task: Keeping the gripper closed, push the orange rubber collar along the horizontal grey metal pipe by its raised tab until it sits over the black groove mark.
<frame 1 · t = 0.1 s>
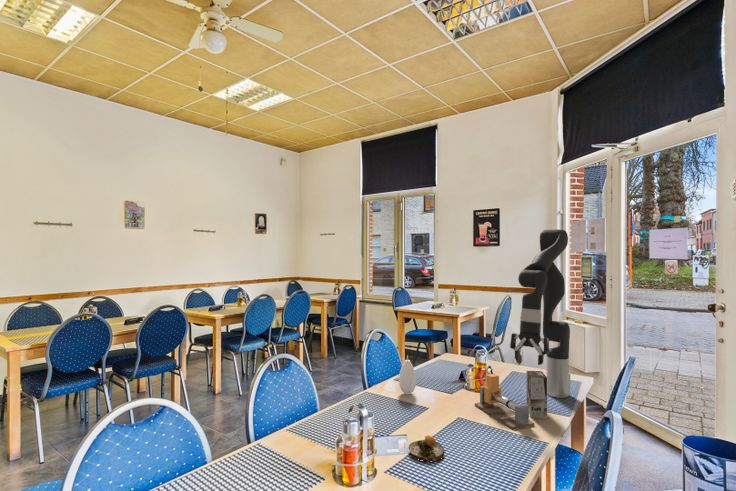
hand: (528, 362, 159), 22 cm above the table, tool pointing down, fingers open, 8 cm apart
coffee box: (536, 414, 166), on the table
pipe: (502, 403, 164), on the base board, point 4 cm above the table
base board: (502, 415, 164), on the table
white teardrop vase: (407, 394, 187), on the table
bowl of food: (426, 454, 134), on the table
collar: (492, 388, 170), point 8 cm above the table, slide at 0.0 cm
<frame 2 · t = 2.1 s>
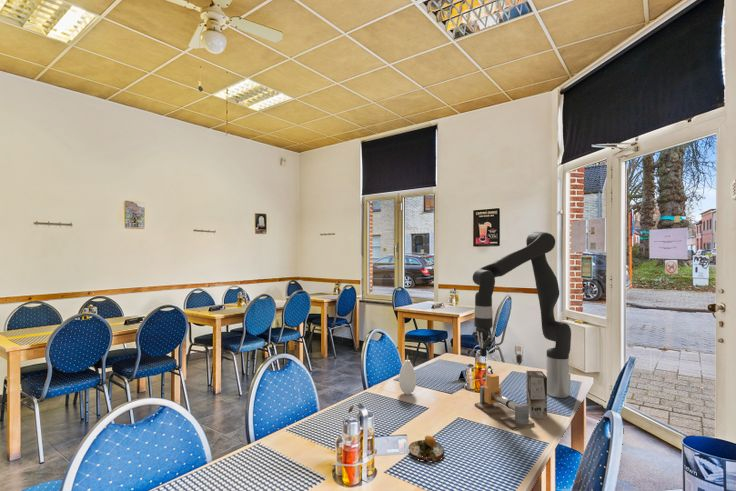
hand: (483, 356, 176), 20 cm above the table, tool pointing down, fingers closed
nothing on the table moved.
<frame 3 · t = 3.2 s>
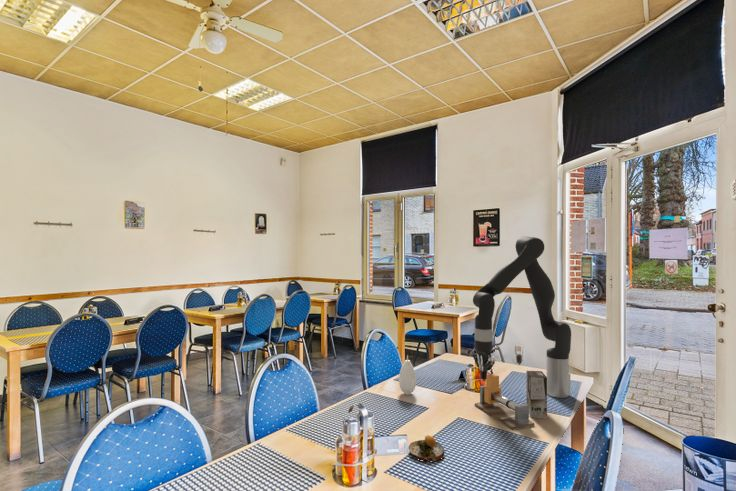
hand: (483, 379, 176), 11 cm above the table, tool pointing down, fingers closed
nothing on the table moved.
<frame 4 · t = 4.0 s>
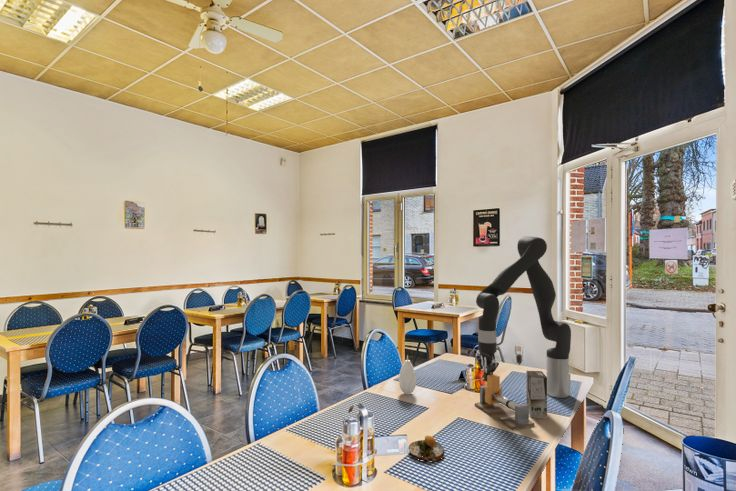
hand: (487, 380, 174), 11 cm above the table, tool pointing down, fingers closed
collar: (493, 388, 170), point 8 cm above the table, slide at 0.4 cm, touching gripper
everything else where it was.
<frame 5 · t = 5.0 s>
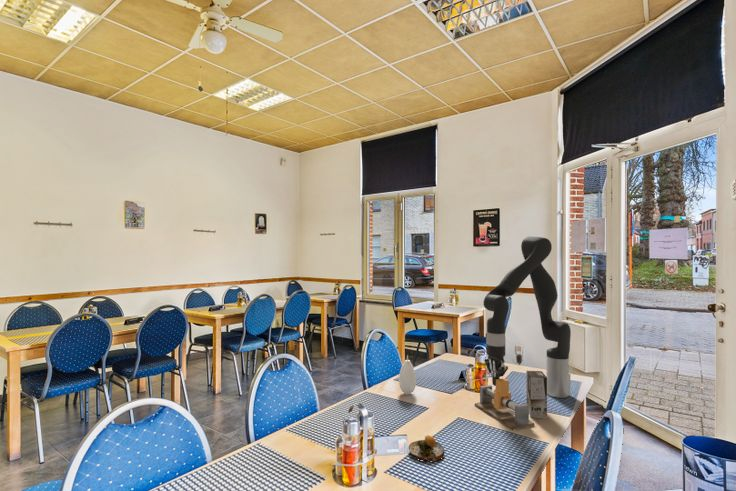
hand: (495, 385, 168), 11 cm above the table, tool pointing down, fingers closed
collar: (502, 393, 164), point 8 cm above the table, slide at 6.1 cm, touching gripper
everything else where it was.
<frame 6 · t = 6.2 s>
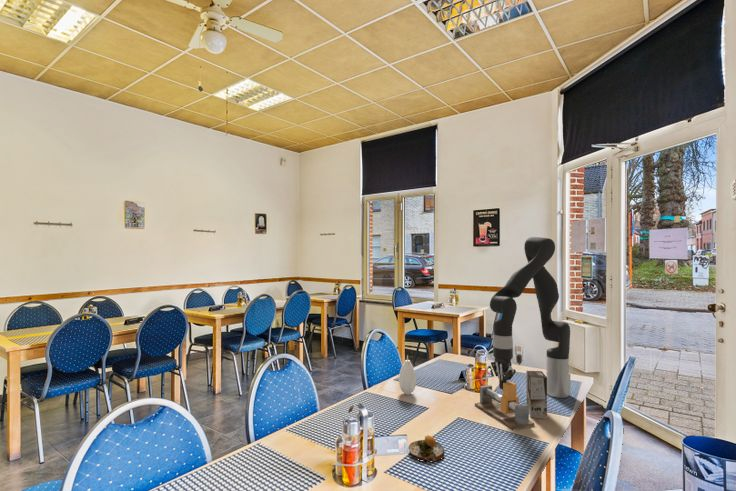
hand: (502, 388, 164), 11 cm above the table, tool pointing down, fingers closed
collar: (509, 397, 160), point 8 cm above the table, slide at 10.6 cm, touching gripper
everything else where it was.
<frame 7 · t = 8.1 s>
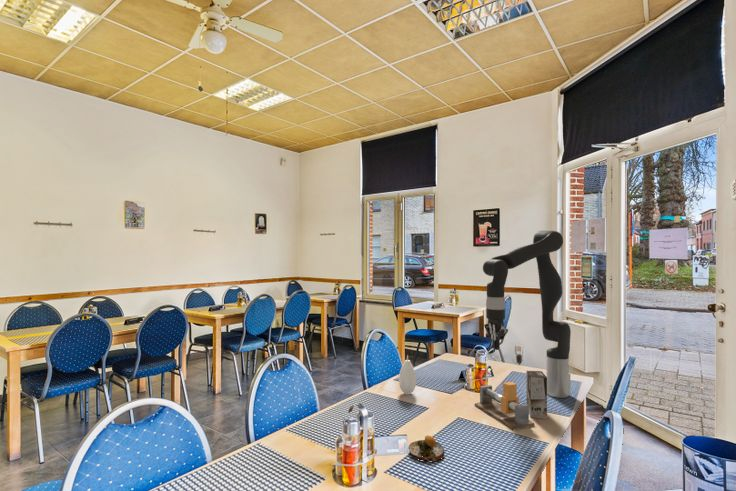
hand: (495, 348, 170), 25 cm above the table, tool pointing down, fingers closed
collar: (509, 397, 160), point 9 cm above the table, slide at 10.7 cm
everything else where it was.
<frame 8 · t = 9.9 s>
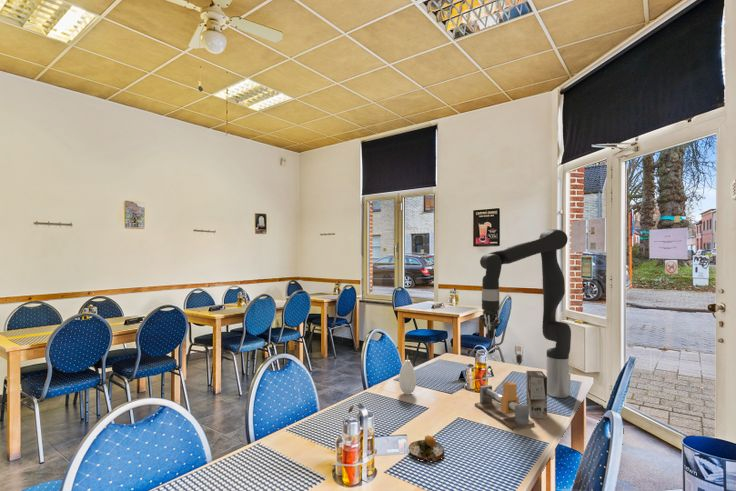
hand: (490, 338, 181), 27 cm above the table, tool pointing down, fingers closed
nothing on the table moved.
at the end: collar slide at 10.7 cm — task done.
